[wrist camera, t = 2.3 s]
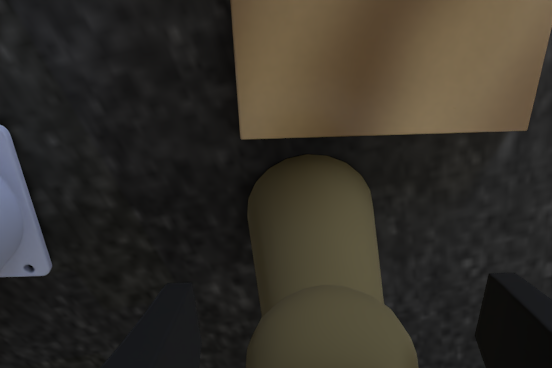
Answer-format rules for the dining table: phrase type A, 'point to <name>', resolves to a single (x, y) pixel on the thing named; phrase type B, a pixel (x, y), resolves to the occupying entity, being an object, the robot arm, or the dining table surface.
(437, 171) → the dining table surface
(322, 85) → the wooden stepped pedestal
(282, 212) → the olive peg figure
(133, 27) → the dining table surface
